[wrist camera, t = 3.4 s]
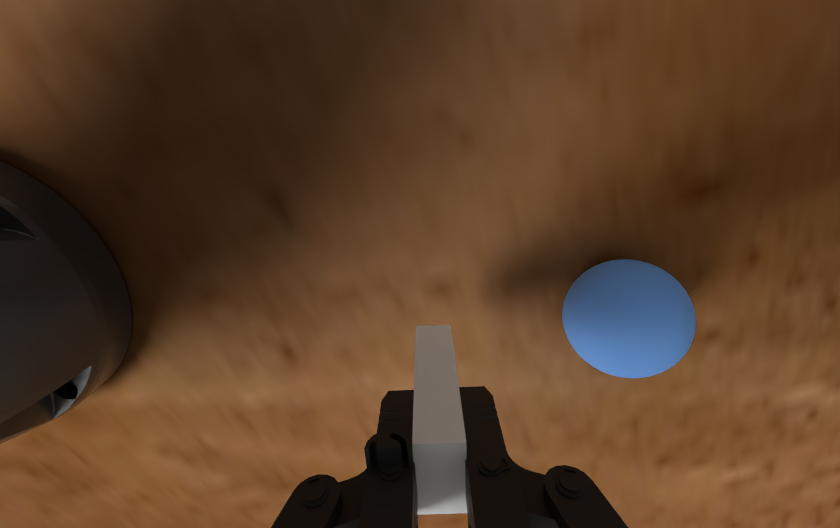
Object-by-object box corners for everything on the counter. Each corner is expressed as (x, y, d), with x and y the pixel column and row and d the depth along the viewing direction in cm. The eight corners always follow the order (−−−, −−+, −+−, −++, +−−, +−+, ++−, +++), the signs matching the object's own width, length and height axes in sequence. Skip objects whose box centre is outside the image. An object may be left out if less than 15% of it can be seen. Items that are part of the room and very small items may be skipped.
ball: (544, 339, 22) (583, 407, 17) (551, 246, 20) (597, 292, 15) (642, 334, 22) (712, 402, 17) (659, 241, 20) (743, 284, 15)
